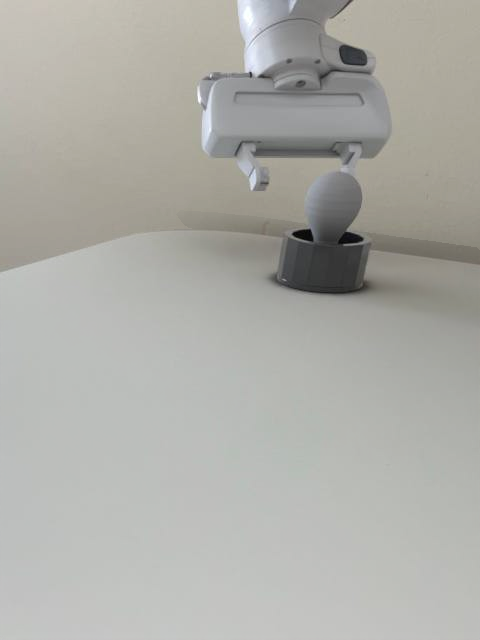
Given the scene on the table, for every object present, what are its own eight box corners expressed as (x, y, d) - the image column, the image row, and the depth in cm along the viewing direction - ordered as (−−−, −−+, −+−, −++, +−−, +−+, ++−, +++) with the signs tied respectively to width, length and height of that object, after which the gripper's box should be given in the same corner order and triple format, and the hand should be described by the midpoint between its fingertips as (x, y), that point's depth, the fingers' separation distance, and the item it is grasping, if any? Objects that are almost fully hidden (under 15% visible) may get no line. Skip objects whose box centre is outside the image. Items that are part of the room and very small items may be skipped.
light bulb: (281, 272, 104) (299, 168, 99) (324, 268, 106) (343, 165, 101) (313, 285, 100) (333, 177, 95) (357, 280, 102) (379, 174, 96)
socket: (346, 271, 107) (355, 227, 105) (374, 293, 100) (384, 246, 97) (267, 271, 107) (274, 226, 104) (289, 292, 100) (298, 245, 97)
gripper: (203, 50, 104) (217, 167, 102) (389, 53, 106) (407, 168, 104) (187, 94, 110) (199, 206, 108) (363, 96, 112) (379, 206, 110)
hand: (303, 187), depth 106 cm, fingers open, 8 cm apart
